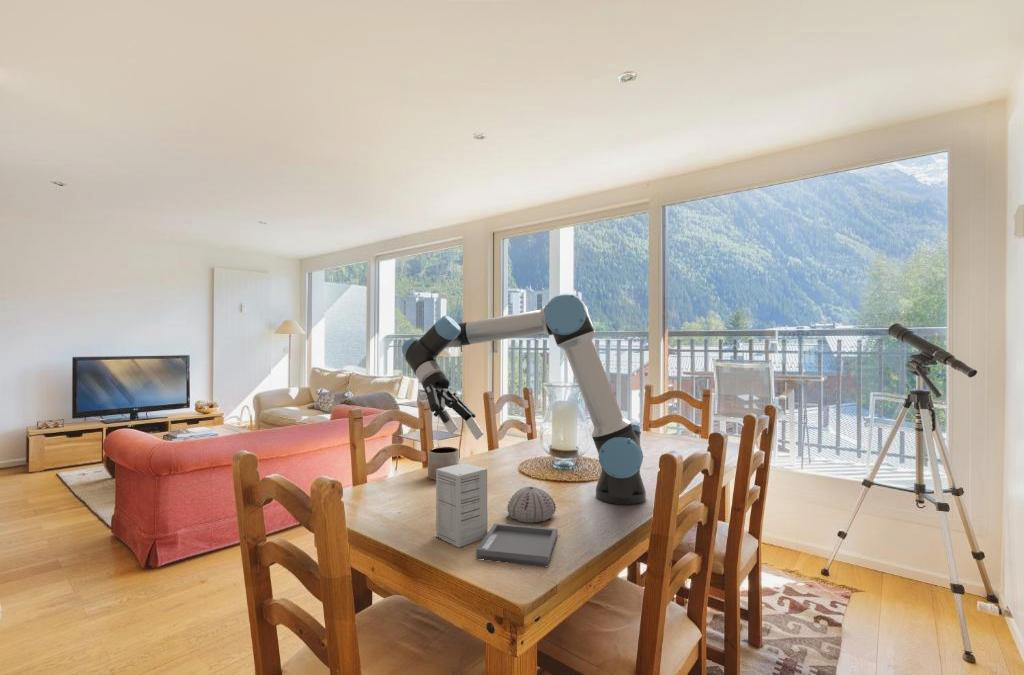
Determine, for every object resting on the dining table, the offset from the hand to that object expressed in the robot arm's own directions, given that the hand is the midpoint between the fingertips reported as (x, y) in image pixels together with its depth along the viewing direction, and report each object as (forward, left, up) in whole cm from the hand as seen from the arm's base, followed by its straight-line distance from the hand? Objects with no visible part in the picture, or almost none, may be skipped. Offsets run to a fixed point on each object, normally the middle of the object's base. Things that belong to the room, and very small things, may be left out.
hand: (467, 434), depth 138 cm
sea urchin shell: (-18, -2, -22) cm, 29 cm away
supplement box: (-4, +16, -22) cm, 28 cm away
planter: (+19, -33, -22) cm, 44 cm away
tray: (-19, +19, -22) cm, 35 cm away
